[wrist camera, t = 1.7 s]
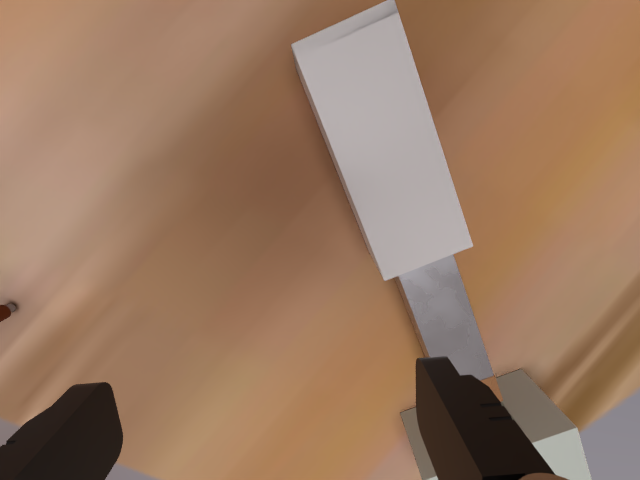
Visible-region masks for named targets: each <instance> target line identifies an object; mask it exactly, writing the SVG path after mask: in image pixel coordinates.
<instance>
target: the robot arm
mask: <svg viewBox="0 0 640 480" xmlns="http://www.w3.org/2000/svg"><path fill="white" fill-rule="evenodd" d="M416 414H417V421H418V426H419V430H420V434H421V437H422V439H423V442H424V444H425V447H426V450H427V452H428V455H429V457H430V460H431V462H432V465H433V467H434V470H435V473H436V475H437V478H438V480H568V479H566V478H564V477H561V476H558V475H556V474H555V473H554V472H553V470H552V469H551V468H550V466H549V465H548V464H547V463H546V461H545V460H544V459H543V457H542V456H541V455H540V453H539V452H538V451H537V449H536V448H535V447H534V445H533V444H532V443H531V441H530V440H529V439H528V437H527V436H526V435H525V434H524V432H523V431H522V430H521V428H520V427H519V426H518V424H517V423H516V422H515V420H512V418H511V415H510V414H509V412H508V411H507V410H506V408H505V407H504V406H502V405H501V402H500V401H499V399H498V398H497V397H496V395H495V394H494V393H493V391H492V390H491V389H490V387H489V386H487V385H486V384H484V383H483V382H481V381H480V380H478V379H477V378H475V377H474V376H472V375H460V374H459V373H458V371H457V370H456V369H455V367H454V366H453V364H452V363H451V361H450V360H449V358H448V357H447V356H440V357H427V358H418V359H417V360H416ZM122 443H123V432H122V427H121V423H120V419H119V415H118V411H117V407H116V403H115V398H114V394H113V390H112V388H111V386H110V384H108V383H106V382H101V383H89V384H76V385H73V386H72V387H70V388H69V389H68V390H67V391H66V392H65V393H64V394H63V395H62V396H61V397H60V398H59V399H58V400H57V401H56V402H55V403H54V404H53V405H52V406H51V407H49V408H48V409H46V410H45V411H43V412H42V413H40V414H39V415H37V416H36V417H34V418H32V419H31V420H29V421H28V422H26V423H25V424H24V425H23V426H22V427H21V428H20V429H19V430H18V431H17V432H16V433H15V434H14V435H13V436H12V437H10V438H9V439H8V440H7V443H6V445H2V446H1V447H0V480H105V478H106V477H107V475H108V474H109V472H110V470H111V469H112V467H113V465H114V464H115V462H116V461H117V459H118V457H119V455H120V452H121V448H122Z"/></svg>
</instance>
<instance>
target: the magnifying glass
mask: <svg viewBox="0 0 640 480" xmlns="http://www.w3.org/2000/svg"><path fill="white" fill-rule="evenodd" d="M13 311H15V306H14V305H13V304H7V305H0V322H1V321H3V320H5V319H6V318H8V317H10V315H11V312H13Z"/></svg>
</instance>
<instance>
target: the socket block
mask: <svg viewBox="0 0 640 480" xmlns="http://www.w3.org/2000/svg"><path fill="white" fill-rule="evenodd" d="M496 380H497V383H498V386H499V389H500V392H501V395H502V398H503V401H502V402H501V405H502V406H504V407H505V408H506V410H507V411H508V412H509V414H510V415H511V418H512V420H515V422H516V423H517V424H518V426H519V427H520V428H521V430H522V431H523V432H524V434H525V435H526V436H527V437H528V439H529V440H530V441H531V443H532V444H533V445H534V447H535V448H536V449H537V451H538V452H539V453H540V455H541V456H542V457H543V459H544V460H545V461H546V463H547V464H548V465H549V466H550V468H551V469H552V470H553V472H554V473H555V474H556V475H558V476H561V477H564V478H566V479H568V480H592V479H591V476H590V472H589V468H588V465H587V461H586V458H585V454H584V451H583V447H582V443H581V440H580V436H579V433H578V429H577V427H576V426H575V425H574V424H573V423H572V422H571V421H570V420H569V419H568V417H567V416H566V415H565V414H564V413H563V412H562V411H561V410H560V409H559V408H558V407H557V406H556V405H555V404H554V403H553V402H552V401H551V399H550V398H549V397H548V396H547V395H546V394H545V393H544V392H543V391H542V390H541V389H540V388H539V387H538V386H537V385H536V384H535V383H534V381H533V380H532V379H531V378H530V377H529V376H528V375H527V374H526V373H525V372H524V371H523V370H522V369H519V370H517V371H514V372H511V373H508V374H506V375H503V376H500V377H497V378H496ZM400 414H401V417H402V420H403V423H404V426H405V429H406V432H407V435H408V438H409V441H410V444H411V447H412V450H413V453H414V456H415V459H416V462H417V465H418V468H419V471H420V474H421V477H422V480H438V478H437V475H436V473H435V470H434V467H433V465H432V462H431V460H430V457H429V455H428V452H427V450H426V447H425V444H424V442H423V439H422V437H421V434H420V430H419V426H418V421H417V414H416V407H415V408H412V409H409V410H406V411H404V412H401V413H400Z"/></svg>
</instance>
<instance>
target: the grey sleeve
mask: <svg viewBox="0 0 640 480" xmlns="http://www.w3.org/2000/svg"><path fill="white" fill-rule="evenodd" d="M291 47H292V52H293V57H294V62H295V66H296V70H297V73H298V75H299V78H300V80H301V83H302V85H303V88H304V90H305V93H306V95H307V98H308V100H309V103H310V105H311V108H312V110H313V113H314V115H315V118H316V120H317V123H318V125H319V128H320V130H321V133H322V135H323V138H324V140H325V143H326V145H327V148H328V150H329V153H330V155H331V158H332V161H333V163H334V166H335V168H336V171H337V173H338V176H339V178H340V181H341V183H342V186H343V188H344V191H345V193H346V196H347V198H348V201H349V203H350V206H351V208H352V211H353V213H354V216H355V218H356V221H357V223H358V226H359V228H360V231H361V233H362V236H363V238H364V241H365V243H366V246H367V248H368V251H369V253H370V255H371V257H372V259H373V261H374V263H375V264H376V266H377V268H378V270H379V272H380V274H381V276H382V277H383V279H384V281H386V280H389V279H391V278H394V277H396V276H399V275H401V274H404V273H407V272H409V271H412V270H414V269H417V268H419V267H422V266H424V265H427V264H429V263H432V262H434V261H437V260H440V259H442V258H445V257H447V256H450V255H452V254H455V253H457V252H460V251H462V250H465V249H468V248H470V247H473V244H472V241H471V238H470V235H469V231H468V228H467V225H466V222H465V219H464V216H463V213H462V210H461V206H460V203H459V200H458V197H457V194H456V191H455V188H454V185H453V181H452V178H451V175H450V172H449V169H448V166H447V163H446V160H445V156H444V153H443V150H442V147H441V144H440V141H439V138H438V135H437V132H436V128H435V125H434V122H433V119H432V116H431V113H430V110H429V107H428V103H427V100H426V97H425V94H424V91H423V88H422V85H421V82H420V78H419V75H418V72H417V69H416V66H415V63H414V60H413V57H412V53H411V50H410V47H409V44H408V41H407V38H406V35H405V32H404V28H403V25H402V22H401V19H400V16H399V13H398V10H397V7H396V3H395V0H387V1H385V2H383V3H381V4H378V5H376V6H374V7H372V8H370V9H367V10H365V11H363V12H361V13H359V14H356V15H354V16H352V17H350V18H348V19H346V20H343V21H341V22H339V23H337V24H335V25H332V26H330V27H328V28H326V29H324V30H321V31H319V32H317V33H315V34H313V35H310V36H308V37H306V38H304V39H302V40H299V41H297V42H295V43H293V44H291Z"/></svg>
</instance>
